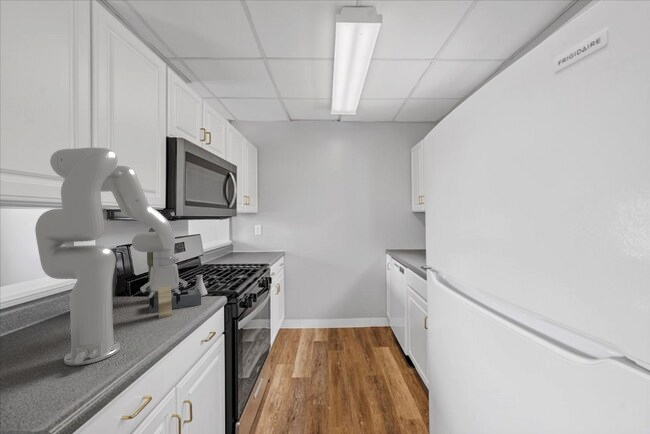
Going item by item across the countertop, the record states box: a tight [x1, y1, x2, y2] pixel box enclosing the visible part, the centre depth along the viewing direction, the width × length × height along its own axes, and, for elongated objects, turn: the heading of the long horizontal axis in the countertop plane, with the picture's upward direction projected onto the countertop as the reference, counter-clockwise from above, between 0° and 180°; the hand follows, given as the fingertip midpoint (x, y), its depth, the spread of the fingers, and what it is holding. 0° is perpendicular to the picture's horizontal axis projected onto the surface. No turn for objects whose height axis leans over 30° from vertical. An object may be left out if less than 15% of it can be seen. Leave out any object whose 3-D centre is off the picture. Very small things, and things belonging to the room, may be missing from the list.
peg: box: [158, 286, 173, 319], centre depth 116 cm, size 4×4×12 cm
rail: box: [148, 289, 202, 314], centre depth 129 cm, size 10×20×5 cm, turn 119°
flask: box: [193, 274, 208, 297], centre depth 145 cm, size 7×7×10 cm
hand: (165, 304), depth 116 cm, fingers open, 8 cm apart
